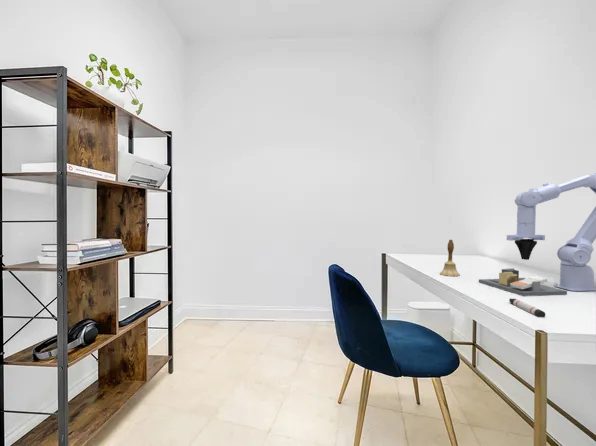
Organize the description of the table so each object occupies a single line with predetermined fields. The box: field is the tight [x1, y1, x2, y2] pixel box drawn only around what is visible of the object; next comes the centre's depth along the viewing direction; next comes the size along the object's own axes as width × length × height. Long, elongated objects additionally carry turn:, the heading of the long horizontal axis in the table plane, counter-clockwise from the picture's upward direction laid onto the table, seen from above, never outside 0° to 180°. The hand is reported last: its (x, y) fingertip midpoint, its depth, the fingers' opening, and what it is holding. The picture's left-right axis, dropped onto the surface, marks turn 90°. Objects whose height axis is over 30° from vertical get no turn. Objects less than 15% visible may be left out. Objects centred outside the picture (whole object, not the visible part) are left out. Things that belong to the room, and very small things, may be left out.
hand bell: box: [439, 239, 461, 277], centre depth 147 cm, size 8×8×16 cm
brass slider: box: [498, 272, 517, 286], centre depth 120 cm, size 4×4×5 cm
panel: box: [478, 277, 568, 297], centre depth 121 cm, size 16×22×5 cm
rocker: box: [510, 275, 548, 289], centre depth 113 cm, size 10×5×1 cm, turn 98°
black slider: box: [501, 267, 520, 281], centre depth 128 cm, size 4×4×5 cm
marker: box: [509, 298, 546, 318], centre depth 94 cm, size 15×2×2 cm, turn 175°
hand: (525, 259), depth 123 cm, fingers closed
